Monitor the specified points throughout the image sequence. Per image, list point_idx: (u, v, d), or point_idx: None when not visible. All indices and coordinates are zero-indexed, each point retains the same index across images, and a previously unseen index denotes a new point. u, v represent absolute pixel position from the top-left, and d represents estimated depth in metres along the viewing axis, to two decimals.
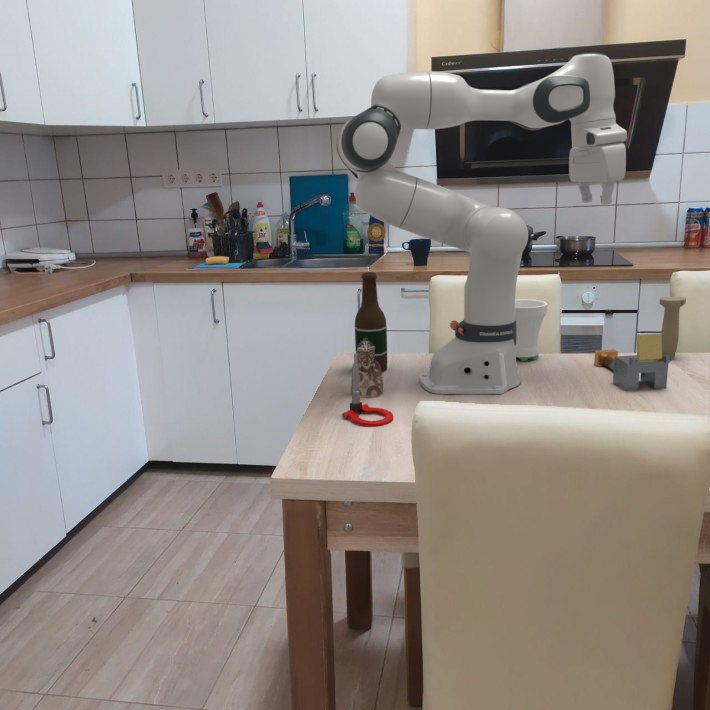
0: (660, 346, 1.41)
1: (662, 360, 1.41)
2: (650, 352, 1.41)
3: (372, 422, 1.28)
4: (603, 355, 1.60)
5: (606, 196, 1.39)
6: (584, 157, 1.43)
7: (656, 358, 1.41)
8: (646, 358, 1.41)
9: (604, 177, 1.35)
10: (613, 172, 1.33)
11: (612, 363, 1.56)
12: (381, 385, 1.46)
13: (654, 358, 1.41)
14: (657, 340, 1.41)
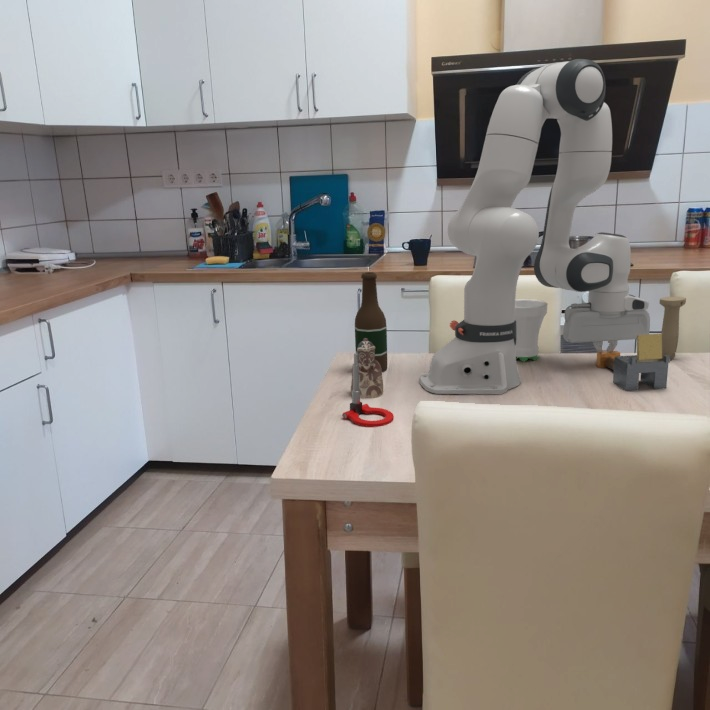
0: (660, 346, 1.41)
1: (662, 360, 1.41)
2: (650, 352, 1.41)
3: (372, 422, 1.28)
4: (605, 356, 1.59)
5: None
6: (603, 320, 1.58)
7: (656, 358, 1.41)
8: (646, 358, 1.41)
9: None
10: None
11: None
12: (381, 385, 1.46)
13: (654, 358, 1.41)
14: (657, 340, 1.41)
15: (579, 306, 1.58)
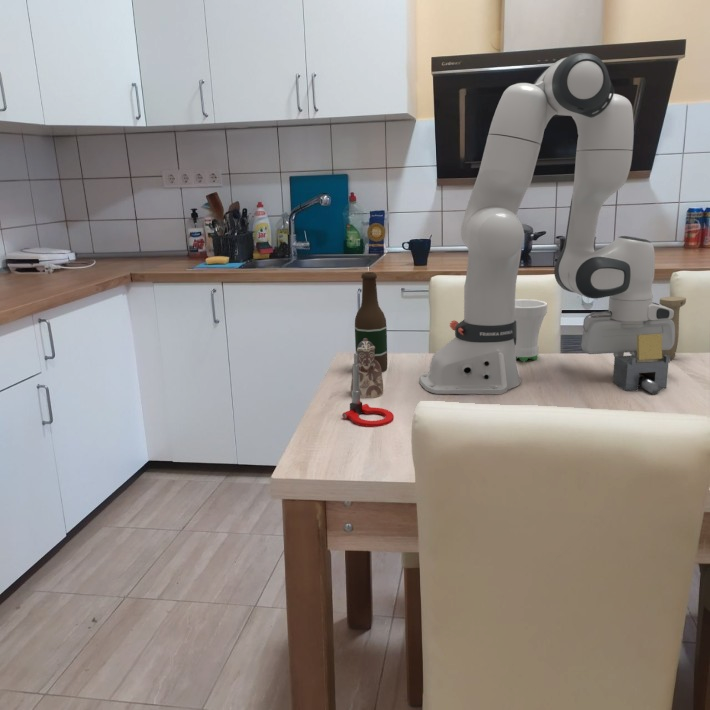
0: (660, 346, 1.41)
1: (662, 360, 1.41)
2: (650, 352, 1.41)
3: (372, 422, 1.28)
4: None
5: None
6: (625, 330, 1.48)
7: (656, 358, 1.41)
8: (646, 358, 1.41)
9: (668, 345, 1.49)
10: None
11: None
12: (381, 385, 1.46)
13: (654, 358, 1.41)
14: (657, 340, 1.41)
15: (599, 315, 1.48)
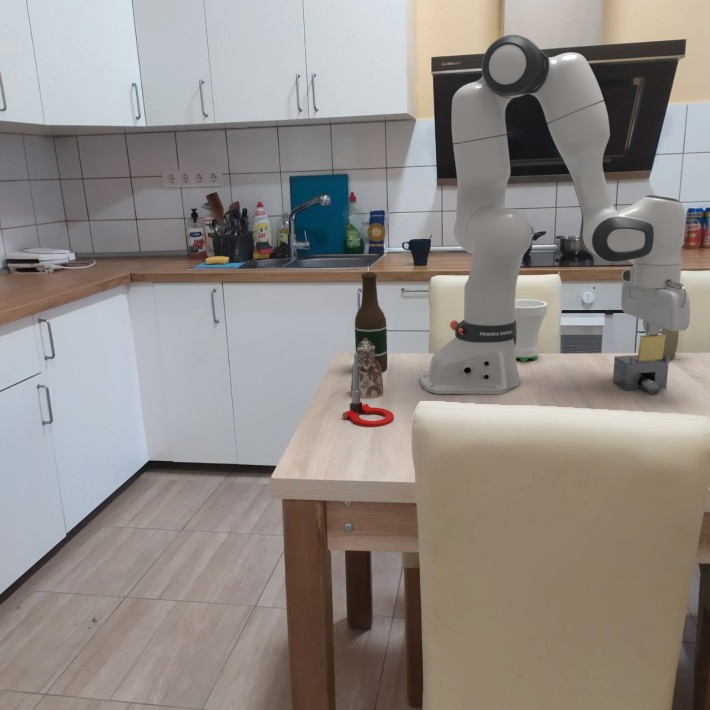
0: (662, 347, 1.40)
1: (662, 360, 1.41)
2: (651, 353, 1.40)
3: (372, 422, 1.28)
4: None
5: None
6: None
7: (656, 359, 1.41)
8: (646, 359, 1.41)
9: None
10: None
11: None
12: (381, 385, 1.46)
13: (654, 359, 1.41)
14: (660, 342, 1.39)
15: None
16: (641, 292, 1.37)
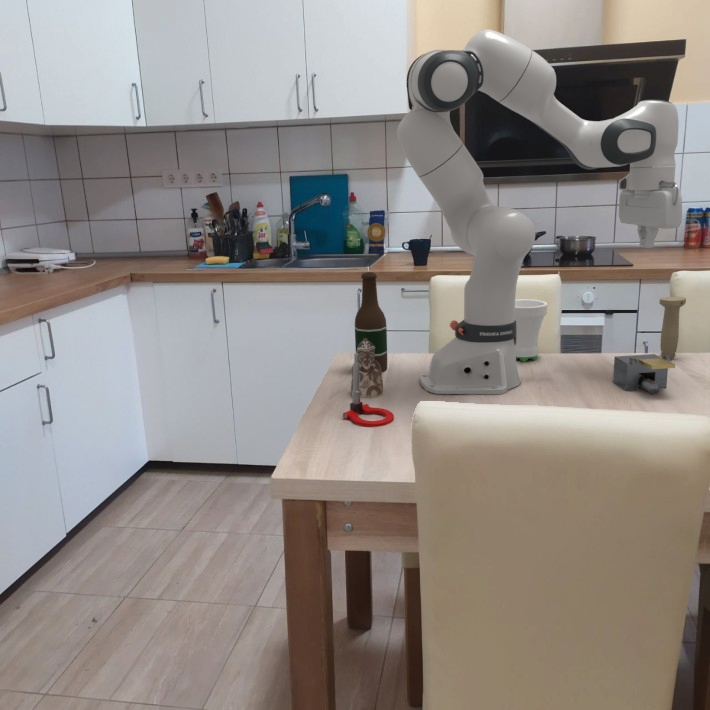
0: None
1: None
2: None
3: (373, 422, 1.28)
4: None
5: None
6: None
7: None
8: None
9: None
10: None
11: None
12: (381, 385, 1.46)
13: None
14: None
15: None
16: (636, 196, 1.43)
